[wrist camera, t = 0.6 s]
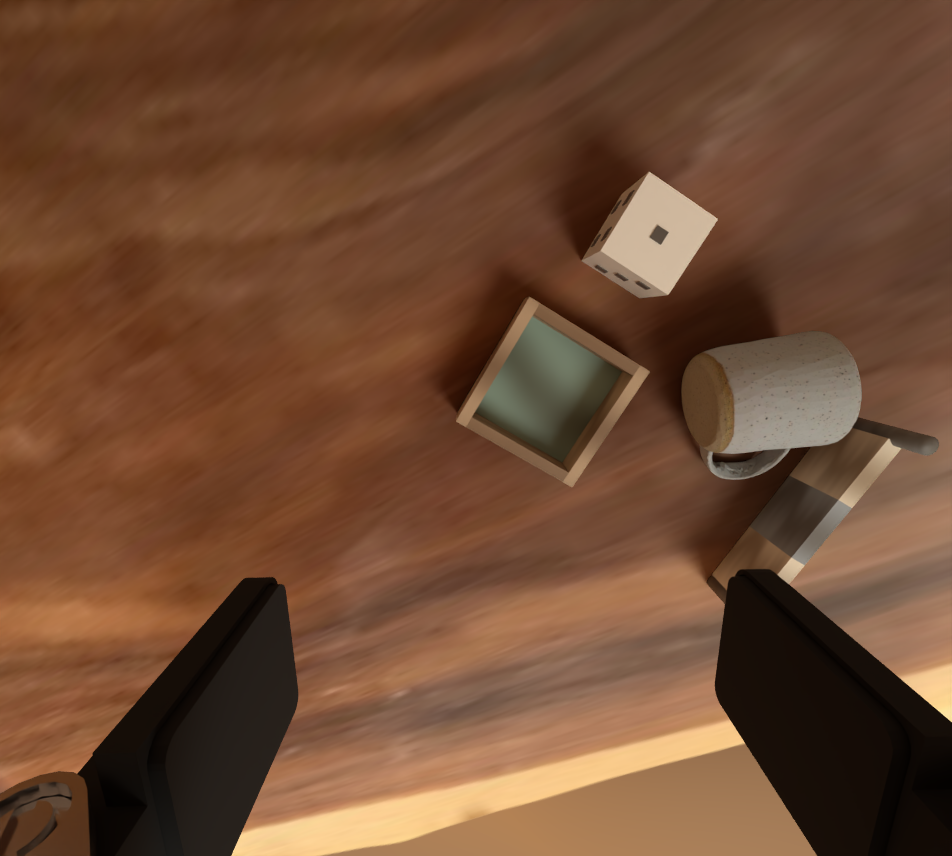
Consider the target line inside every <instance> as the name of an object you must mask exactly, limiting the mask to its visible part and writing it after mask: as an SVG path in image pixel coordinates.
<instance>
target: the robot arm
mask: <svg viewBox="0 0 952 856" xmlns="http://www.w3.org/2000/svg"><path fill="white" fill-rule="evenodd" d="M715 691H716V695H717V698H718V701H719V703H720V705H721V706H722V708H723V709H724V711H725V712H726V714H727V716H728V717H729V719H730V720H731V722H732V723H733V725H734V726H735V728H736V730H737V731H738V733H739V734H740V736H741V737H742V739H743V740H744V742H745V744H746V745H747V747H748V748H749V750H750V751H751V753H752V755H753V756H754V757H755V759H756V760H757V762H758V764H759V765H760V767H761V769H762V770H763V772H764V773H765V775H766V776H767V778H768V780H769V781H770V783H771V784H772V786H773V787H774V789H775V790H776V792H777V793H778V795H779V797H780V798H781V799H782V801H783V803H784V805H785V806H786V808H787V809H788V811H789V812H790V814H791V815H792V817H793V819H794V820H795V822H796V823H797V825H798V826H799V828H800V829H801V831H802V832H803V834H804V836H805V837H806V839H807V840H808V842H809V844H810V845H811V847H812V848H813V850H814V851H815V853H816V854H817V856H952V722H951V721H949V720H948V719H947V718H946V717H945V716H944V715H942V714H941V713H940V712H939V711H938V710H936V709H935V708H934V707H933V706H932V705H931V704H929V703H928V702H927V701H926V700H925V699H923V698H922V697H921V696H920V695H919V694H918V693H916V692H915V691H914V690H913V689H912V688H910V687H909V686H908V685H907V684H906V683H905V682H903V681H902V680H901V679H900V678H899V677H897V676H896V675H895V674H894V673H893V672H892V671H890V670H889V669H888V668H887V667H886V666H885V665H883V664H882V663H881V662H880V661H879V660H877V659H876V658H875V657H874V656H873V655H872V654H870V653H869V652H868V651H867V650H866V649H864V648H863V647H862V646H861V645H860V644H859V643H857V642H856V641H855V640H854V639H853V638H851V637H850V636H849V635H848V634H847V633H846V632H844V631H843V630H842V629H841V628H840V627H838V626H837V625H836V624H835V623H834V622H833V621H831V620H830V619H829V618H828V617H827V616H826V615H824V614H823V613H822V612H821V611H820V610H818V609H817V608H816V607H815V606H814V605H813V604H811V603H810V602H809V601H808V600H807V599H805V598H804V597H803V596H802V595H801V594H800V593H798V592H797V591H796V590H795V589H794V588H792V587H791V586H790V585H789V584H788V583H787V582H785V581H784V580H783V579H782V578H781V577H779V576H778V575H777V574H776V573H775V572H773V571H772V570H770V569H740V570H739V571H737V573H736V575H735V576H734V577H731V578H730V579H729V581H728V586H727V593H726V601H725V609H724V616H723V624H722V632H721V639H720V647H719V655H718V662H717V670H716V678H715ZM297 702H298V685H297V677H296V669H295V661H294V653H293V645H292V637H291V629H290V621H289V613H288V605H287V597H286V590H285V587H284V585H282V584H277V581H276V579H275V578H273V577H266V578H244V579H243V580H242V581H241V582H240V583H239V584H238V585H237V587H236V588H235V589H234V590H233V591H232V592H231V594H230V595H229V596H228V597H227V598H226V599H225V601H224V602H223V603H222V604H221V605H220V606H219V607H218V609H217V610H216V611H215V612H214V613H213V614H212V616H211V617H210V618H209V619H208V620H207V621H206V623H205V624H204V625H203V626H202V627H201V628H200V629H199V631H198V632H197V633H196V634H195V635H194V636H193V638H192V639H191V640H190V641H189V642H188V643H187V645H186V646H185V647H184V648H183V649H182V650H181V651H180V653H179V654H178V655H177V656H176V657H175V658H174V660H173V661H172V662H171V663H170V664H169V665H168V667H167V668H166V669H165V670H164V671H163V672H162V673H161V675H160V676H159V677H158V678H157V679H156V680H155V682H154V683H153V684H152V685H151V686H150V687H149V688H148V690H147V691H146V692H145V693H144V694H143V695H142V697H141V698H140V699H139V700H138V701H137V702H136V704H135V705H134V706H133V707H132V708H131V709H130V710H129V712H128V713H127V714H126V715H125V716H124V717H123V719H122V720H121V721H120V722H119V723H118V724H117V726H116V727H115V728H114V729H113V730H112V731H111V732H110V734H109V735H108V736H107V737H106V738H105V739H104V741H103V742H102V743H101V744H100V745H99V746H98V748H97V749H96V750H95V751H94V752H93V753H92V754H93V756H92V757H91V758H90V760H89V761H88V762H87V763H86V764H85V765H84V767H83V768H82V769H81V770H80V771H79V772H78V774H76V773H74V772H61V771H58V772H53V773H48V774H43V775H39V776H37V777H34V778H31V779H29V780H26V781H24V782H21V783H19V784H17V785H15V786H13V787H11V788H9V789H8V790H6V791H4V792H2V793H0V856H231V855H232V853H233V850H234V848H235V846H236V844H237V841H238V839H239V837H240V835H241V832H242V830H243V828H244V826H245V823H246V821H247V819H248V817H249V814H250V812H251V810H252V808H253V805H254V803H255V801H256V799H257V796H258V794H259V792H260V790H261V787H262V785H263V783H264V781H265V778H266V776H267V774H268V772H269V769H270V767H271V765H272V762H273V760H274V758H275V756H276V753H277V751H278V749H279V747H280V744H281V742H282V740H283V738H284V735H285V733H286V731H287V729H288V726H289V724H290V722H291V720H292V717H293V715H294V713H295V710H296V707H297Z"/></svg>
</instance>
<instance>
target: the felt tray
mask: <svg viewBox="0 0 952 856" xmlns="http://www.w3.org/2000/svg"><path fill="white" fill-rule="evenodd" d="M649 372H650V371H648V370H647V369H645V368H643V367H642V366H640V365H638V364H637V363H635V362H634V361H632V360H630V359H629V358H627V357H626V356H624V355H622V354H621V353H619V352H618V351H616V350H614V349H613V348H611V347H610V346H608V345H606V344H605V343H603V342H602V341H600V340H598V339H597V338H595V337H594V336H592V335H590V334H589V333H587V332H585V331H584V330H582V329H581V328H579V327H577V326H576V325H574V324H573V323H571V322H569V321H568V320H566V319H565V318H563V317H561V316H560V315H558V314H557V313H555V312H553V311H552V310H550V309H549V308H547V307H545V306H544V305H542V304H541V303H539V302H537V301H536V300H534V299H532V298H531V297H527V298H524V300H523V302H522V303H521V305H520V307H519V308H518V310H517V312H516V314H515V315H514V317H513V319H512V320H511V322H510V324H509V325H508V327H507V329H506V330H505V332H504V334H503V336H502V337H501V339H500V341H499V342H498V344H497V346H496V347H495V349H494V351H493V353H492V354H491V356H490V358H489V359H488V361H487V363H486V364H485V366H484V368H483V369H482V371H481V373H480V375H479V376H478V378H477V380H476V381H475V383H474V385H473V386H472V388H471V390H470V391H469V393H468V395H467V397H466V398H465V400H464V402H463V403H462V405H461V407H460V408H459V410H458V412H457V417H456V422H458V423H460V424H461V425H463V426H465V427H467V428H468V429H470V430H472V431H474V432H475V433H477V434H479V435H481V436H483V437H484V438H486V439H488V440H490V441H491V442H493V443H495V444H497V445H498V446H500V447H502V448H504V449H505V450H507V451H509V452H511V453H512V454H514V455H516V456H518V457H520V458H521V459H523V460H525V461H527V462H528V463H530V464H532V465H534V466H535V467H537V468H539V469H541V470H542V471H544V472H546V473H548V474H549V475H551V476H553V477H555V478H556V479H558V480H560V481H562V482H564V483H565V484H567V485H569V486H571V487H573V485H574V484H575V482H576V481H577V479H578V478H579V476H580V475H581V473H582V472H583V470H584V469H585V467H586V466H587V465H588V463H589V462H590V460H591V459H592V457H593V456H594V454H595V453H596V451H597V450H598V448H599V447H600V445H601V444H602V442H603V441H604V439H605V438H606V436H607V435H608V433H609V432H610V430H611V429H612V427H613V426H614V424H615V423H616V421H617V420H618V418H619V417H620V415H621V414H622V413H623V411H624V410H625V408H626V407H627V405H628V404H629V402H630V401H631V399H632V398H633V396H634V395H635V393H636V392H637V390H638V389H639V387H640V386H641V384H642V383H643V381H644V380H645V378H646V377H647V375H648V374H649Z"/></svg>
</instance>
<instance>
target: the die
mask: <svg viewBox="0 0 952 856" xmlns="http://www.w3.org/2000/svg"><path fill="white" fill-rule="evenodd" d="M717 220H718V219H717V218H716V217H714V216H713V215H711V214H710V213H708V212H707V211H705V210H704V209H703V208H701V207H700V206H698V205H697V204H695V203H694V202H692V201H691V200H690V199H688V198H687V197H685V196H684V195H682V194H681V193H679V192H678V191H677V190H675V189H674V188H672V187H671V186H669V185H668V184H666V183H665V182H663V181H662V180H661V179H659V178H658V177H656V176H655V175H653V174H652V173H650V172H648V173H647V174H646V175H644V176H643V177H642V178H641V179H639V180H638V181H637V182H636V183H635V184H633V185H632V186H631V187H630V188H628V189H627V190H626V191H625V192H623V193H622V194H621V196H620V198H619V199H618V201H617V203H616V204H615V206H614V208H613V209H612V211H611V213H610V214H609V216H608V218H607V219H606V221H605V222H604V224H603V226H602V227H601V229H600V231H599V232H598V234H597V236H596V237H595V239H594V241H593V242H592V244H591V246H590V247H589V249H588V251H587V252H586V254H585V255H584V257H583V259H582V260H581V261H583V262H584V263H586V264H587V265H589V266H590V267H592V268H593V269H595V270H596V271H598V272H600V273H601V274H603V275H604V276H606V277H607V278H609V279H610V280H612V281H613V282H615V283H617V284H618V285H620V286H621V287H623V288H624V289H626V290H627V291H629V292H631V293H632V294H634V295H635V296H637V297H638V298H647V297H656V296H664V295H669V293H670V292H671V290H672V289H673V287H674V286H675V284H676V282H677V281H678V279H679V278H680V276H681V275H682V273H683V272H684V270H685V269H686V267H687V266H688V264H689V263H690V261H691V260H692V258H693V257H694V255H695V254H696V252H697V250H698V249H699V247H700V246H701V244H702V243H703V241H704V240H705V238H706V237H707V235H708V234H709V232H710V231H711V229H712V228H713V226H714V225H715V223H716V222H717Z"/></svg>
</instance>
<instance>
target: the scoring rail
mask: <svg viewBox="0 0 952 856" xmlns="http://www.w3.org/2000/svg"><path fill="white" fill-rule="evenodd" d="M938 446H939V442H938V440H937V439H936V438H935V437H931V436H928V435H924V434H920V433H916V432H912V431H908V430H904V429H901V428H897V427H893V426H889V425H885V424H881V423H878V422H874V421H870V420H866V419H862V418H858V417H857V420H856V422H855V423H854V425H853V427H852V429H851V430H850V432H849V433H848V434H846V435H845V436H844V437H843V438H842V439H841V440H839V441H838V442H835V443H832V444H828V445H822V446H812V447H811V448H810V449H809V451H808V452H807V453H806V455H805V456H804V457H803V458H802V460H801V461H800V462H799V463H798V465H797V466H796V467H795V469H794V470H793V471H792V472H791V474H790V475H789V476H788V478H787V479H786V480H785V481H784V483H783V484H782V485H781V487H780V488H779V489H778V490H777V492H776V493H775V494H774V495H773V497H772V498H771V499H770V501H769V502H768V503H767V504H766V506H765V507H764V508H763V510H762V511H761V512H760V513H759V515H758V516H757V517H756V519H755V520H754V521H753V522H752V524H751V525H750V526H749V527H748V529H747V530H746V531H745V533H744V534H743V535H742V536H741V538H740V539H739V540H738V542H737V543H736V544H735V545H734V547H733V548H732V549H731V551H730V552H729V553H728V554H727V556H726V557H725V558H724V560H723V561H722V562H721V563H720V565H719V566H718V567H717V568H716V570H715V571H714V572H713V574H712V575H713V576H711V577H710V578H709V579H708V581H707V583H708V585H709V587H710V588H711V589H712V590H713V591H714V592H715V593H716V594H717V596H718V597H719V598H720V599H721V600H722V601H723V602H724V604H725V601H726V593H727V586H728V581H729V579H730V578H731V577H734V576H735V575H736V573H737V571H739V570H740V569H770V570H772V571H773V572H775V573H776V574H777V575H778V576H779V577H781V578H782V579H783V580H784V581H785V582H787V583H788V584H790V582H791V581H792V580H793V579H794V578H795V576H796V575H797V574H798V573H799V572H800V570H801V569H802V568H803V567H804V566H805V564H806V563H807V562H808V561H809V559H810V558H811V557H812V556H813V555H814V553H815V552H816V551H817V550H818V549H819V547H820V546H821V545H822V544H823V543H824V541H825V540H826V539H827V538H828V537H829V535H830V534H831V533H832V532H833V530H834V529H835V528H836V527H837V526H838V524H839V523H840V522H841V521H842V520H843V518H844V517H845V516H846V515H847V514H848V512H849V511H850V510H851V509H852V507H853V506H854V505H855V504H856V503H857V501H858V500H859V499H860V498H861V497H862V495H863V494H864V493H865V492H866V491H867V489H868V488H869V487H870V486H871V485H872V483H873V482H874V481H875V480H876V478H877V477H878V476H879V475H880V474H881V472H882V471H883V470H884V469H885V468H886V466H887V465H888V464H889V463H890V462H891V460H892V459H893V458H894V457H895V456H896V454H897V453H898V452H899V451H900V449H901V448H902V449H906V450H909V451H912V452H916V453H919V454H922V455H931V454H933V453H934V452H936V450H937V449H938Z"/></svg>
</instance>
